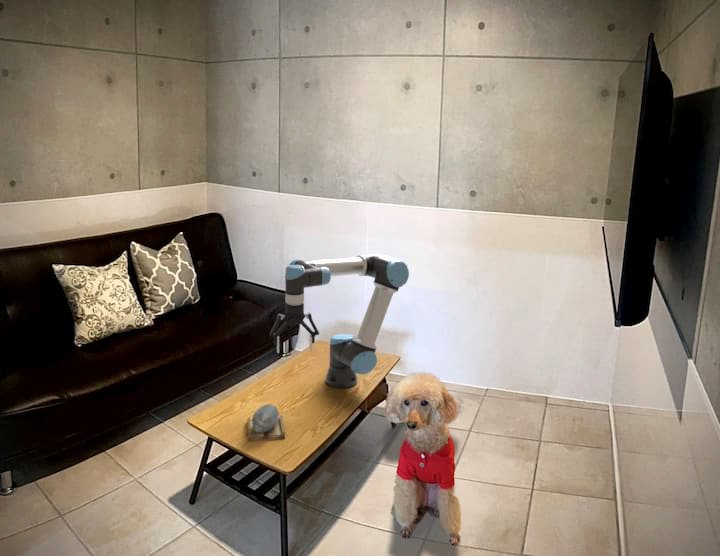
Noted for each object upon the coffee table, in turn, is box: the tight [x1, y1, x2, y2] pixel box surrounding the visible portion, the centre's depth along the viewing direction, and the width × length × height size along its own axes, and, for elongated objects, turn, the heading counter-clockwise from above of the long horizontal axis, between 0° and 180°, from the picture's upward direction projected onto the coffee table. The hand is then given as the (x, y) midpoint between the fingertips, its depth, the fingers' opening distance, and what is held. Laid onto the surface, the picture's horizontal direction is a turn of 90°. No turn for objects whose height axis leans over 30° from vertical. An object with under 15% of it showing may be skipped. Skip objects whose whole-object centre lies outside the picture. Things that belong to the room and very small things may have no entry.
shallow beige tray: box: [246, 414, 286, 442], centre depth 244 cm, size 14×15×2 cm
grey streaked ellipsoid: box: [251, 403, 279, 433], centre depth 243 cm, size 14×10×10 cm
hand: (294, 351), depth 255 cm, fingers open, 13 cm apart
